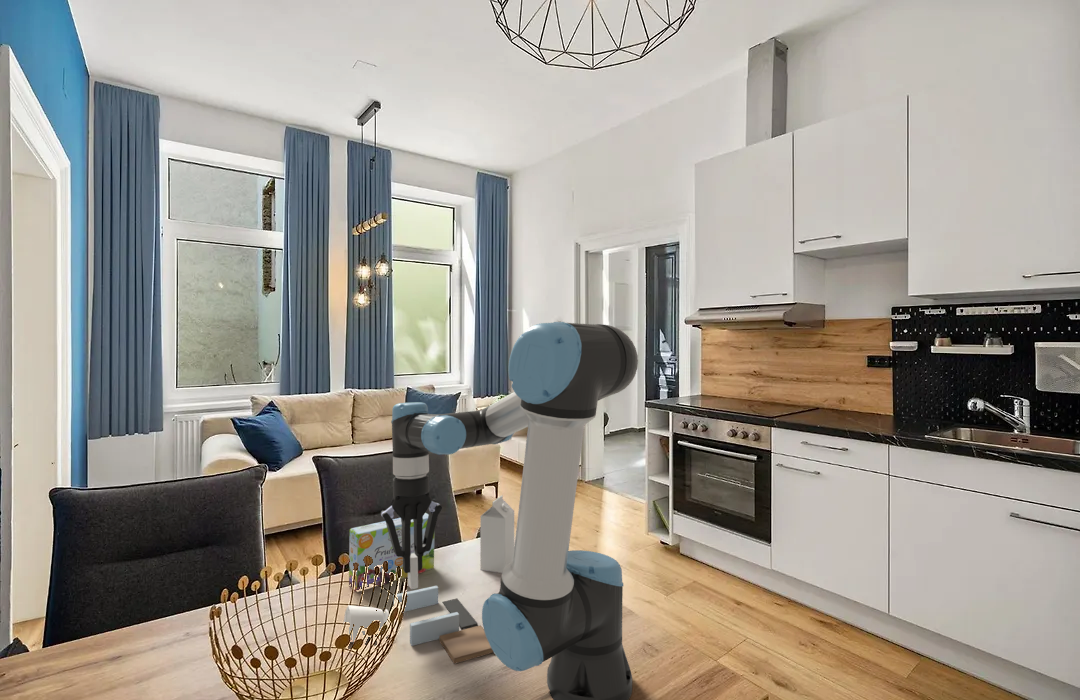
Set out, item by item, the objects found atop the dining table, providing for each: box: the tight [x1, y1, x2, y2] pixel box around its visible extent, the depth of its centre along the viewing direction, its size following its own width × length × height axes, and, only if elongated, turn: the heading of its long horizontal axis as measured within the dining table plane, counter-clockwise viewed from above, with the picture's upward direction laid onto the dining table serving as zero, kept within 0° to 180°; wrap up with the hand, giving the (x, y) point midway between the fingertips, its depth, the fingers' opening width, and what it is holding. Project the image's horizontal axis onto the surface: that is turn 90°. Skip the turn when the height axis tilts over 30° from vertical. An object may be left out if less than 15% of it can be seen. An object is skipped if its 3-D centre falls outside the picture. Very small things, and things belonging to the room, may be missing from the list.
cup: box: [343, 604, 390, 643], centre depth 110 cm, size 7×10×8 cm
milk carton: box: [479, 494, 515, 574], centre depth 145 cm, size 7×7×19 cm
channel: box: [392, 585, 460, 647], centre depth 117 cm, size 15×10×4 cm, turn 28°
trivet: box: [438, 624, 494, 665], centre depth 108 cm, size 9×9×1 cm
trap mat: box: [442, 598, 479, 630], centre depth 120 cm, size 13×4×1 cm, turn 28°
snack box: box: [348, 512, 435, 592], centre depth 138 cm, size 21×6×15 cm, turn 132°
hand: (413, 586), depth 115 cm, fingers closed
